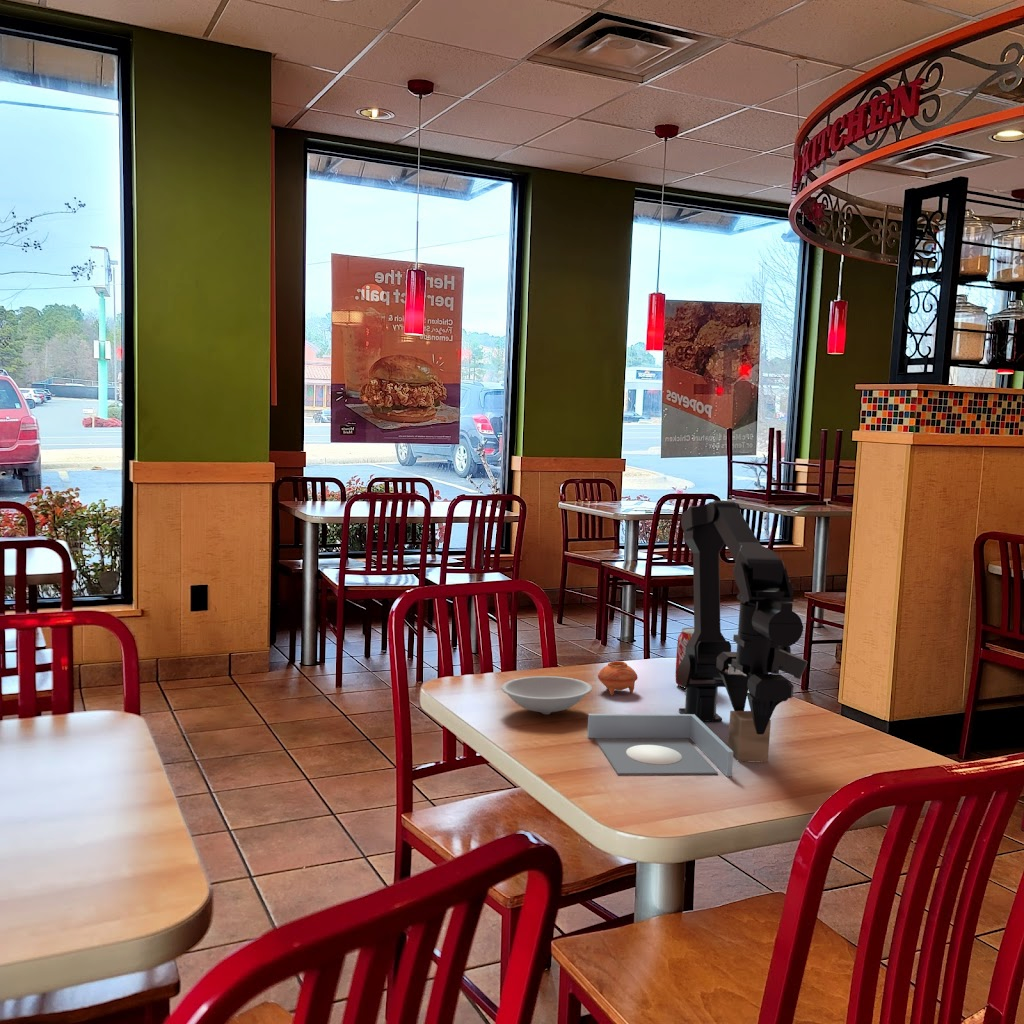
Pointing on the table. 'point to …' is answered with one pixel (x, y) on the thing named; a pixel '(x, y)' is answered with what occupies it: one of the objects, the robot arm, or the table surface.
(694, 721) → the low wall
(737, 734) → the walnut block
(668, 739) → the mat
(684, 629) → the soda can
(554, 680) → the dish
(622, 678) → the pot
